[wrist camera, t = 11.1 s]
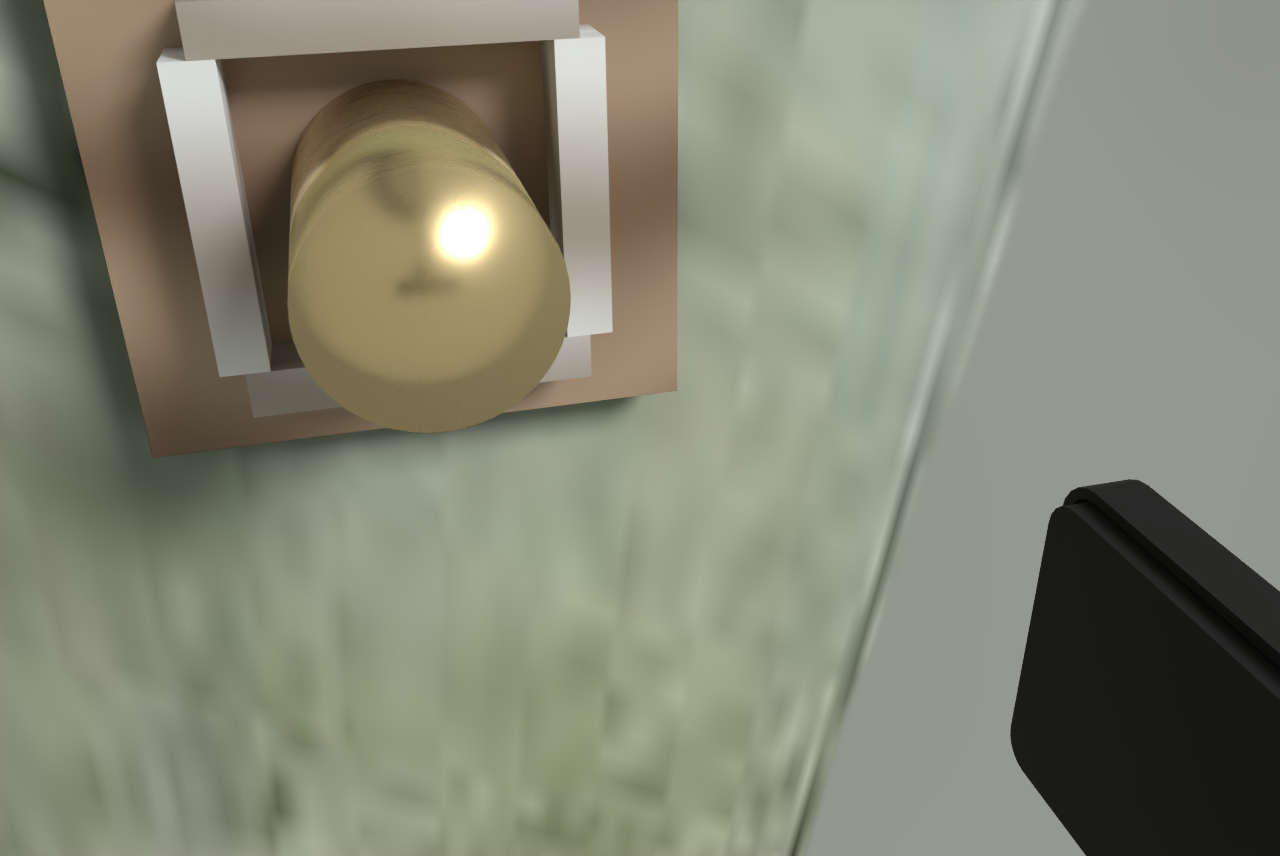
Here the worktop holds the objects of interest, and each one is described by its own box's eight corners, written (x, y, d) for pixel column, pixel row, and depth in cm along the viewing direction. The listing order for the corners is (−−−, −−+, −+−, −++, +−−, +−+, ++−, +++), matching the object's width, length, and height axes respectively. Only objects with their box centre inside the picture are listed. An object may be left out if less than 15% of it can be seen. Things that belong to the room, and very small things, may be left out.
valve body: (275, 85, 23) (266, 181, 17) (498, 72, 24) (565, 158, 18) (307, 296, 25) (309, 448, 19) (511, 276, 26) (575, 415, 20)
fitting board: (38, -94, 22) (4, -81, 19) (658, -113, 24) (700, -103, 22) (159, 426, 27) (145, 492, 24) (660, 365, 30) (694, 418, 27)
